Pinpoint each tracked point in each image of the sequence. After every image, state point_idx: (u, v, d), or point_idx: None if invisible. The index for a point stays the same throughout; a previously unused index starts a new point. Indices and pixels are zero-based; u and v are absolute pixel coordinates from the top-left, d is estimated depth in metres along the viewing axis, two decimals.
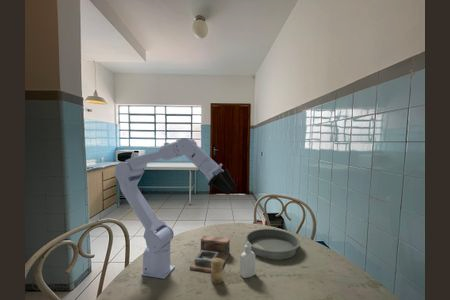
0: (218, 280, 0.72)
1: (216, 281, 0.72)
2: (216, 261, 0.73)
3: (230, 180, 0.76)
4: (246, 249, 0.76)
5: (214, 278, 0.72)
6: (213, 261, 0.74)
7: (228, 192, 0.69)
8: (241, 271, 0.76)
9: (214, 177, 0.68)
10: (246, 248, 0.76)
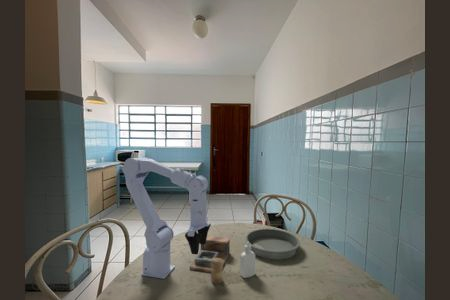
0: (218, 280, 0.72)
1: (216, 281, 0.72)
2: (216, 261, 0.73)
3: (204, 236, 0.79)
4: (246, 249, 0.76)
5: (214, 278, 0.72)
6: (213, 261, 0.74)
7: (193, 252, 0.72)
8: (241, 271, 0.76)
9: (193, 236, 0.70)
10: (246, 248, 0.76)
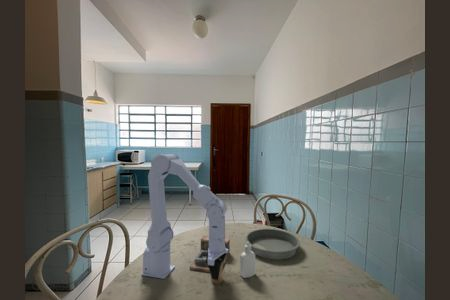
0: (218, 280, 0.72)
1: (216, 281, 0.72)
2: None
3: None
4: (246, 249, 0.76)
5: None
6: None
7: (213, 278, 0.72)
8: (241, 271, 0.76)
9: (214, 262, 0.69)
10: (246, 248, 0.76)
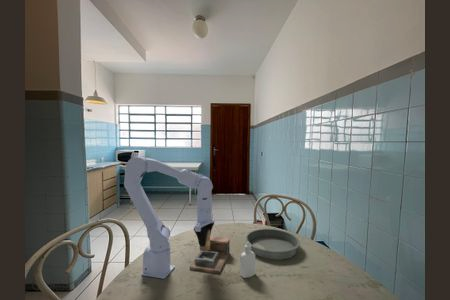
0: (205, 247, 0.80)
1: (203, 248, 0.80)
2: None
3: None
4: (246, 249, 0.76)
5: (202, 246, 0.80)
6: None
7: (201, 245, 0.80)
8: (241, 271, 0.76)
9: (201, 230, 0.77)
10: (246, 248, 0.76)
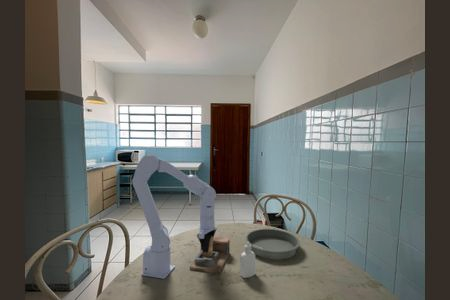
0: (208, 253, 0.84)
1: (206, 254, 0.84)
2: None
3: None
4: (246, 249, 0.76)
5: (205, 252, 0.84)
6: None
7: (204, 251, 0.83)
8: (241, 271, 0.76)
9: (204, 237, 0.81)
10: (246, 248, 0.76)
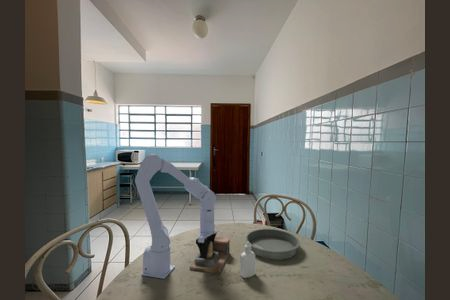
0: None
1: None
2: None
3: (212, 241, 0.89)
4: (246, 249, 0.76)
5: (204, 258, 0.84)
6: None
7: (202, 256, 0.81)
8: (241, 271, 0.76)
9: None
10: (246, 248, 0.76)
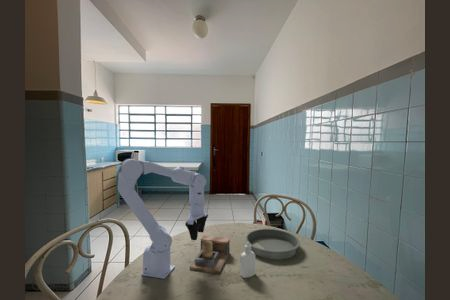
0: None
1: None
2: (206, 243, 0.85)
3: (202, 225, 0.90)
4: (246, 249, 0.76)
5: (204, 258, 0.84)
6: (204, 243, 0.85)
7: (192, 239, 0.83)
8: (241, 271, 0.76)
9: (193, 224, 0.80)
10: (246, 248, 0.76)
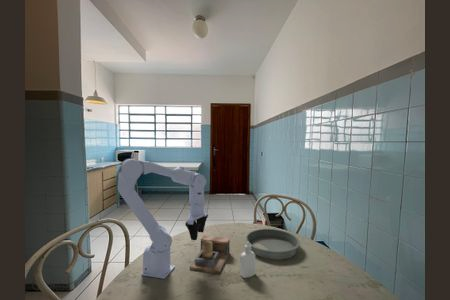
0: None
1: None
2: (206, 243, 0.85)
3: (202, 225, 0.90)
4: (246, 249, 0.76)
5: (204, 258, 0.84)
6: (204, 243, 0.85)
7: (192, 239, 0.83)
8: (241, 271, 0.76)
9: (193, 224, 0.80)
10: (246, 248, 0.76)
